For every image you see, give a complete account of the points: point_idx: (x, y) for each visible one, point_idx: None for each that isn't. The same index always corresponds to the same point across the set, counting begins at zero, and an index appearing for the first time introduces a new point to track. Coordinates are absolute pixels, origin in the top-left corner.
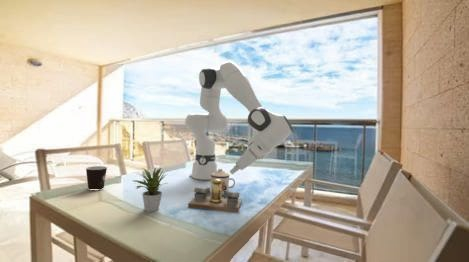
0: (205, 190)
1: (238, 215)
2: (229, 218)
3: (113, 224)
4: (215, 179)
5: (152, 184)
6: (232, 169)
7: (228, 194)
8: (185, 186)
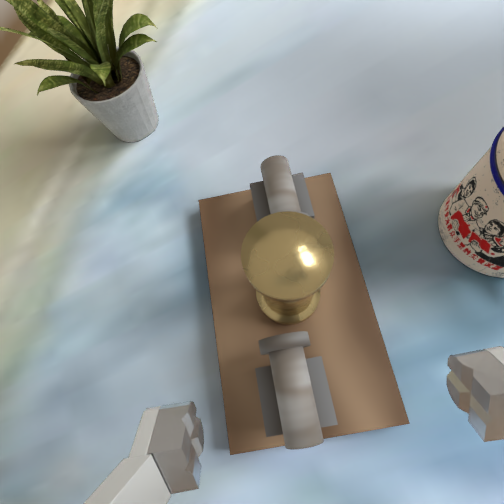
0: None
1: None
2: None
3: (2, 120)
4: (280, 241)
5: (84, 38)
6: (135, 451)
7: (272, 370)
8: (464, 55)
